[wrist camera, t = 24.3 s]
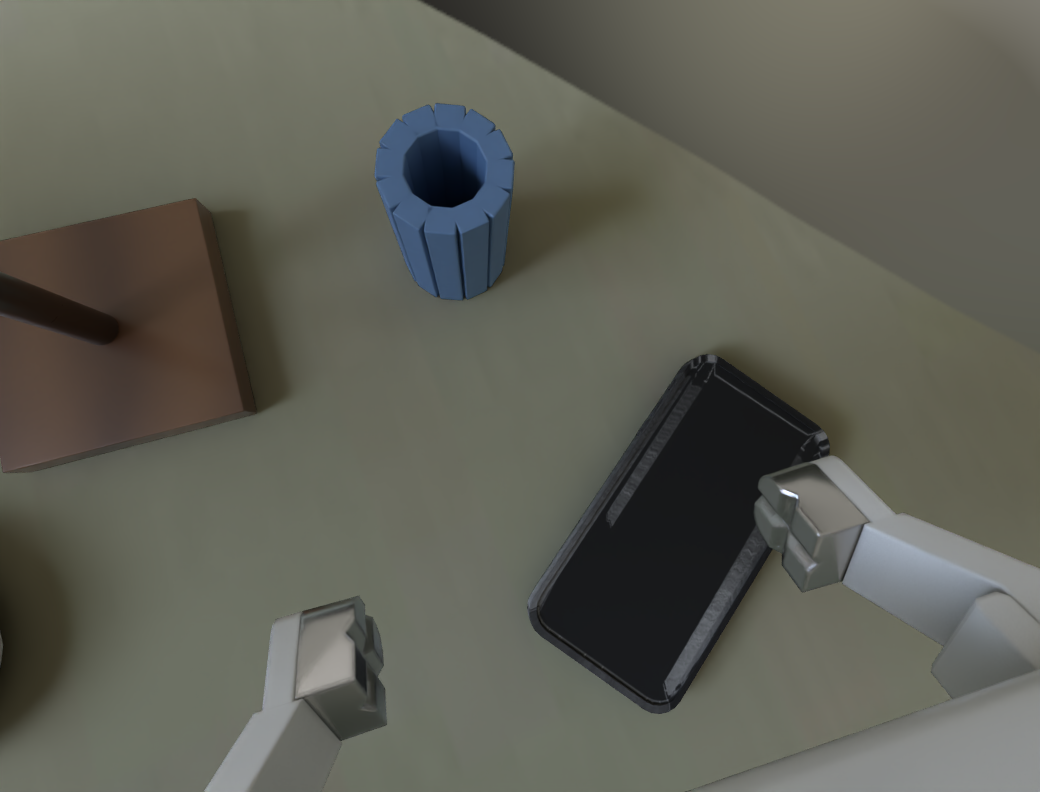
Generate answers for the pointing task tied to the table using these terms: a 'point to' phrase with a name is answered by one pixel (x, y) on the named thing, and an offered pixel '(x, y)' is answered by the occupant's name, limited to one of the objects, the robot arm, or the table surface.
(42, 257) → the dowel stand
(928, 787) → the robot arm
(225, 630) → the table surface
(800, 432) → the phone
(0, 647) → the donut
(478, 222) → the tube
